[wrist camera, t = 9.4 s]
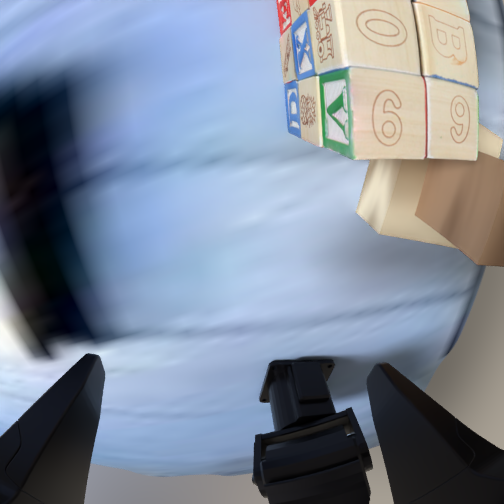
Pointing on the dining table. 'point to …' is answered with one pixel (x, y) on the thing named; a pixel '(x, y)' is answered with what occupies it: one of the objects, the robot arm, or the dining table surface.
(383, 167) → the birch block
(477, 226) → the walnut cube
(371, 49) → the stack of blocks
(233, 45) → the dining table surface
